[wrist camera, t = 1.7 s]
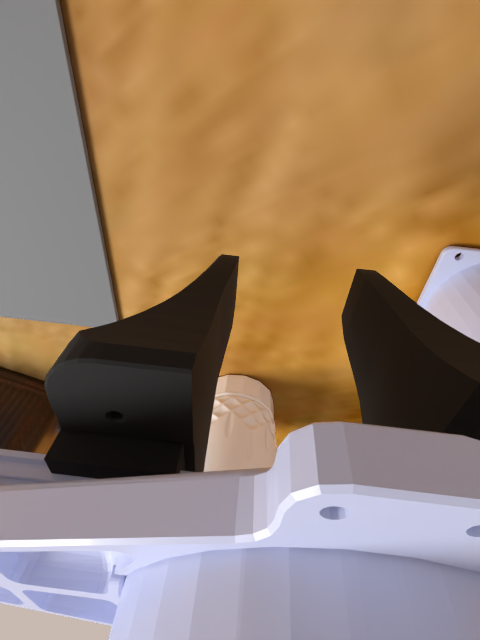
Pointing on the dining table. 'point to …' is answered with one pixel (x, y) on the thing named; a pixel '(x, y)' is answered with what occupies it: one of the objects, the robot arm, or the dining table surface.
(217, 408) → the white cup
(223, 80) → the dining table surface
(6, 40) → the mat
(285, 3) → the dining table surface
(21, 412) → the coffee grinder
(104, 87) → the dining table surface
